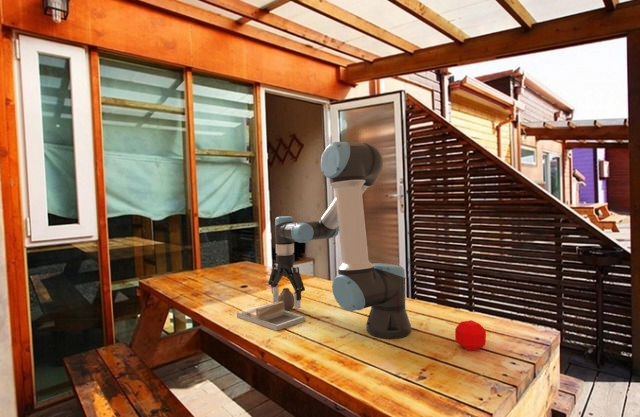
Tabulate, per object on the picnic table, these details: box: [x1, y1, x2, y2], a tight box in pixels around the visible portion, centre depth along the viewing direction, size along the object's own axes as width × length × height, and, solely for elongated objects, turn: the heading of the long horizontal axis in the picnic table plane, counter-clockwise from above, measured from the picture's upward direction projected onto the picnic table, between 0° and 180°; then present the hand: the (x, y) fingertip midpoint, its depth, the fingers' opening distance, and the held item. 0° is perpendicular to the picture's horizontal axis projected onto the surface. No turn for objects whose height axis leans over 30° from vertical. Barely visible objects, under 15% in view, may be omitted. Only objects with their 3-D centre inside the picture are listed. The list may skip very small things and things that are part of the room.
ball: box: [454, 320, 487, 351], centre depth 120 cm, size 8×8×8 cm
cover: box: [241, 301, 285, 319], centre depth 155 cm, size 11×13×4 cm
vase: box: [278, 287, 294, 312], centre depth 163 cm, size 7×7×9 cm
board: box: [236, 310, 306, 332], centre depth 152 cm, size 24×14×2 cm, turn 46°
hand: (286, 305), depth 163 cm, fingers open, 13 cm apart
